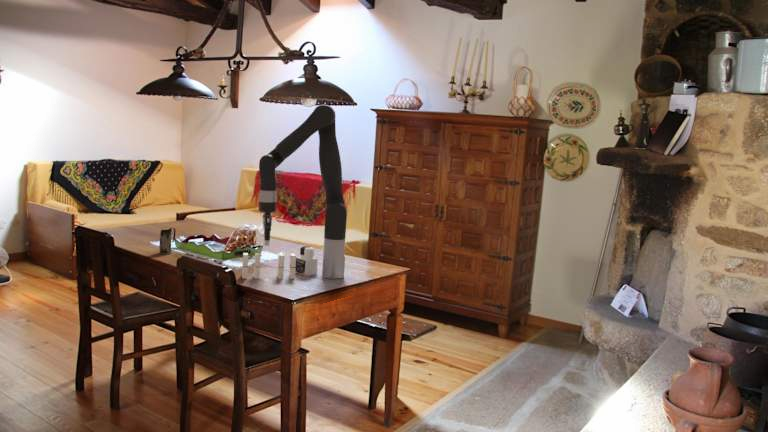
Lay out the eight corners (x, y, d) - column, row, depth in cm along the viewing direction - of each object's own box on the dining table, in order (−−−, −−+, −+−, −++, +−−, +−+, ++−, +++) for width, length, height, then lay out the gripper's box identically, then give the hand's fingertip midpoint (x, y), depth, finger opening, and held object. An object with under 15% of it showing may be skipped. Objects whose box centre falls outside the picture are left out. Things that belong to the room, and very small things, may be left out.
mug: (164, 254, 305) (164, 229, 303) (156, 253, 308) (157, 228, 306) (177, 252, 312) (178, 228, 310) (170, 251, 314) (171, 226, 313)
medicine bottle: (294, 272, 287) (296, 246, 285) (307, 270, 292) (308, 245, 290) (304, 275, 282) (305, 249, 280) (317, 274, 287) (318, 247, 285)
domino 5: (293, 276, 280) (294, 253, 279) (295, 278, 275) (296, 256, 274) (289, 276, 279) (290, 253, 278) (290, 278, 275) (291, 255, 273)
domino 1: (247, 275, 275) (247, 252, 274) (247, 278, 270) (248, 255, 269) (242, 275, 274) (243, 252, 273) (242, 278, 270) (243, 255, 268)
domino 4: (282, 276, 279) (283, 253, 277) (283, 278, 274) (284, 255, 273) (277, 275, 278) (278, 253, 277) (278, 278, 273) (279, 255, 272)
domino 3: (268, 243, 284) (269, 221, 283) (269, 245, 279) (269, 222, 278) (263, 243, 284) (264, 221, 282) (264, 245, 279) (265, 222, 278)
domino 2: (258, 275, 276) (259, 253, 275) (259, 278, 271) (260, 255, 270) (254, 275, 276) (255, 252, 274) (254, 278, 271) (255, 255, 270)
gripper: (277, 202, 273) (276, 242, 275) (275, 198, 287) (274, 236, 289) (259, 202, 271) (258, 242, 273) (258, 198, 285) (257, 236, 287)
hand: (266, 238), depth 281 cm, fingers closed on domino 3, 5 cm apart
